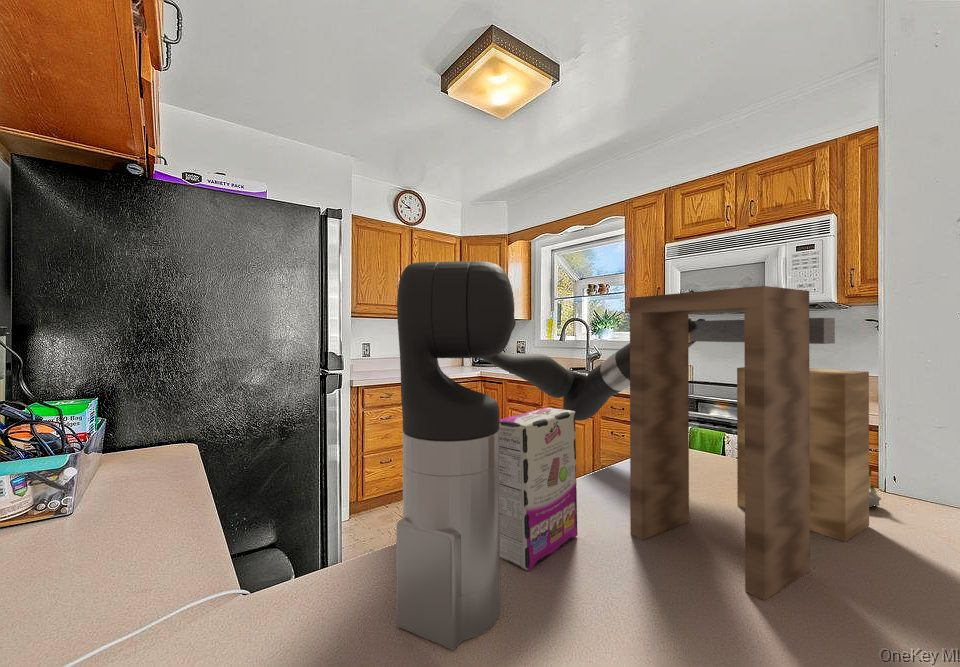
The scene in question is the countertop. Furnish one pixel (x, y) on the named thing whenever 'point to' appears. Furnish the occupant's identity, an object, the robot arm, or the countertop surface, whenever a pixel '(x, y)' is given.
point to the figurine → (873, 494)
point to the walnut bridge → (768, 423)
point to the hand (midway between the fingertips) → (698, 323)
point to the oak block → (829, 450)
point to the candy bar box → (537, 485)
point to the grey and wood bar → (734, 332)
